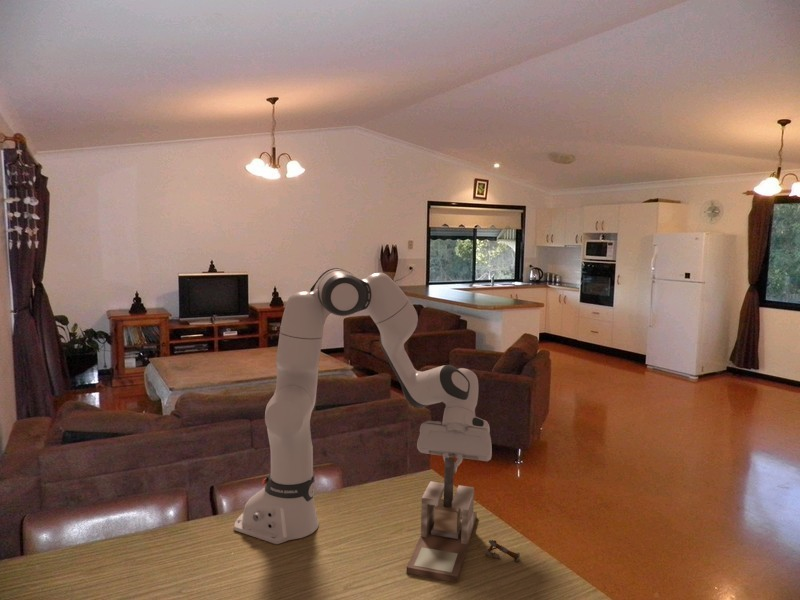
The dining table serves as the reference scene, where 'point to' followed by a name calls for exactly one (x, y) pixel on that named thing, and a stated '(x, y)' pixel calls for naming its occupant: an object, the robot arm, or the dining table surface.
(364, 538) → the dining table surface
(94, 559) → the dining table surface
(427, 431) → the robot arm
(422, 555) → the tunnel track
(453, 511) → the rod on wooden block
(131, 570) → the dining table surface
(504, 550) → the toy flintlock pistol
